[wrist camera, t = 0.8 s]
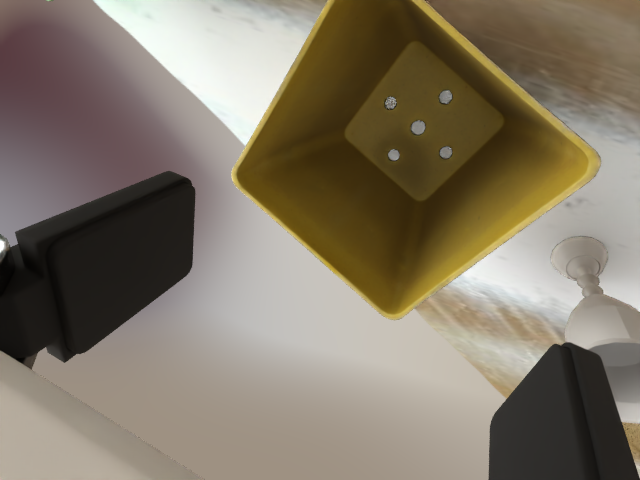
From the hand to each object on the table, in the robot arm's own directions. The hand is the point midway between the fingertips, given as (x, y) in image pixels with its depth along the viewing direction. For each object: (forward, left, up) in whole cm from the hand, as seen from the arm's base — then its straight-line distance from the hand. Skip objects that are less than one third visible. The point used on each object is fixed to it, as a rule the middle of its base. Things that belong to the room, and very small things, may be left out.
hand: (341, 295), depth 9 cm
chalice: (+11, +18, -35) cm, 41 cm away
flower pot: (+3, -3, -35) cm, 35 cm away
